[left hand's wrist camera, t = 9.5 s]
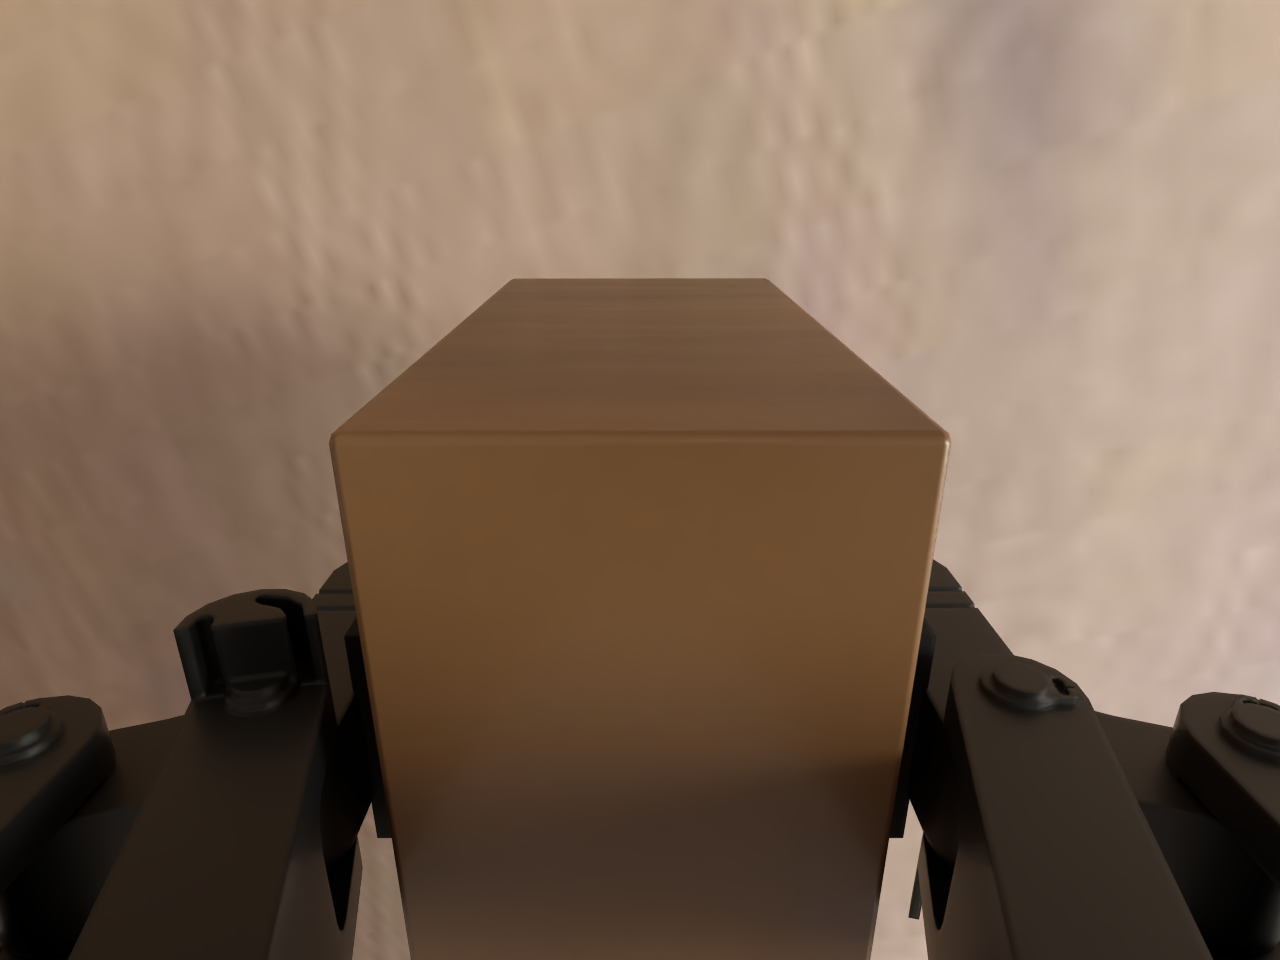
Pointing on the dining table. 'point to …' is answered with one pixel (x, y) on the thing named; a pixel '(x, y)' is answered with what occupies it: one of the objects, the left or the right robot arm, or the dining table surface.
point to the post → (640, 622)
